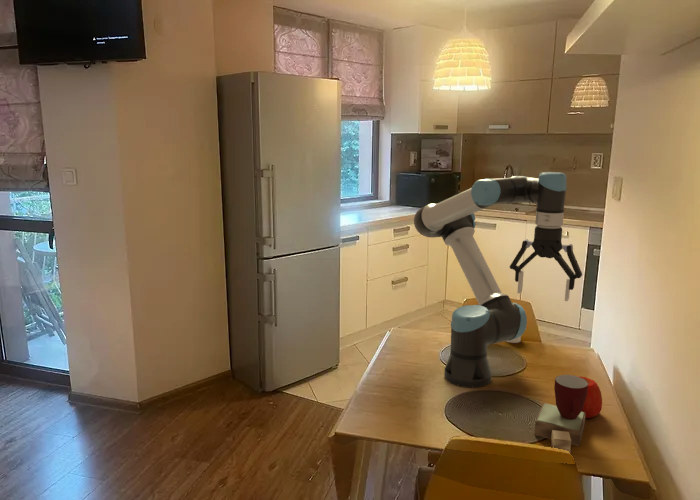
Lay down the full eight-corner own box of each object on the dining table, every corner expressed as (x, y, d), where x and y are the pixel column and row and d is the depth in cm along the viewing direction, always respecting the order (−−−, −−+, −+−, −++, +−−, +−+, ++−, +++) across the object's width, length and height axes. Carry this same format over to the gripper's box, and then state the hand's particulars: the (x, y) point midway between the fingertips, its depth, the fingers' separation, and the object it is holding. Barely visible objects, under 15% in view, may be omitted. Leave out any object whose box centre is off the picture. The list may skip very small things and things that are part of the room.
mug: (594, 428, 135) (598, 392, 133) (563, 429, 135) (566, 393, 133) (577, 408, 145) (579, 374, 143) (547, 408, 145) (550, 374, 143)
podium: (534, 434, 140) (535, 420, 140) (542, 416, 150) (543, 402, 149) (579, 446, 135) (580, 431, 134) (584, 426, 144) (585, 411, 143)
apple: (560, 418, 149) (563, 383, 146) (559, 400, 159) (562, 367, 156) (602, 425, 145) (606, 389, 143) (599, 406, 155) (602, 372, 153)
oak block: (552, 453, 133) (554, 438, 132) (551, 444, 136) (552, 430, 136) (570, 455, 132) (571, 440, 131) (567, 446, 136) (568, 431, 135)
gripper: (502, 224, 157) (497, 292, 162) (593, 232, 144) (585, 306, 149) (509, 220, 163) (504, 286, 168) (597, 228, 150) (589, 299, 155)
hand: (542, 296), depth 159 cm, fingers open, 13 cm apart
